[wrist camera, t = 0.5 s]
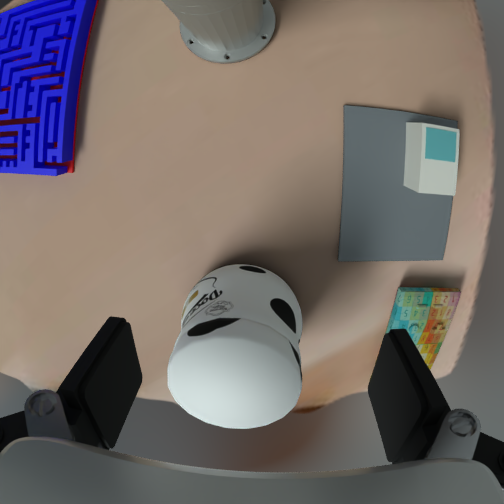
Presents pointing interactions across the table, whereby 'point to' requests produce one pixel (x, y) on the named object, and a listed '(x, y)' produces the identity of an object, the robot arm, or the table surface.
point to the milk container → (238, 349)
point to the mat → (387, 192)
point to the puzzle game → (424, 317)
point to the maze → (42, 83)
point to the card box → (431, 158)
